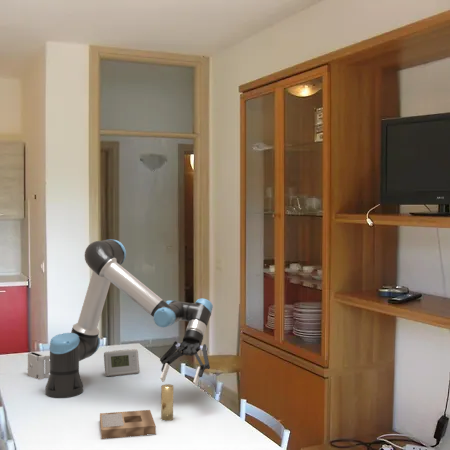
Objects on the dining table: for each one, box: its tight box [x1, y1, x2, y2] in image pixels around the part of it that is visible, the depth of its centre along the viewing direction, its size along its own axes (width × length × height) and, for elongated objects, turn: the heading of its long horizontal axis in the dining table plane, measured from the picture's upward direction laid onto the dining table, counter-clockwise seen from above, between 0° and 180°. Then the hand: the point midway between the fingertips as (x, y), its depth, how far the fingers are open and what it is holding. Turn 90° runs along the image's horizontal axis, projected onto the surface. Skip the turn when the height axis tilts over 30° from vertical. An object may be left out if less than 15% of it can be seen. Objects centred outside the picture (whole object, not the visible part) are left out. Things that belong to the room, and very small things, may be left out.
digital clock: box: [103, 348, 140, 377], centre depth 273 cm, size 16×9×11 cm, turn 103°
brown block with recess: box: [99, 409, 157, 440], centre depth 207 cm, size 18×16×3 cm
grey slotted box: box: [27, 351, 50, 380], centre depth 267 cm, size 14×5×10 cm, turn 59°
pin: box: [160, 383, 174, 422], centre depth 217 cm, size 4×4×12 cm
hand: (178, 382), depth 223 cm, fingers open, 13 cm apart
